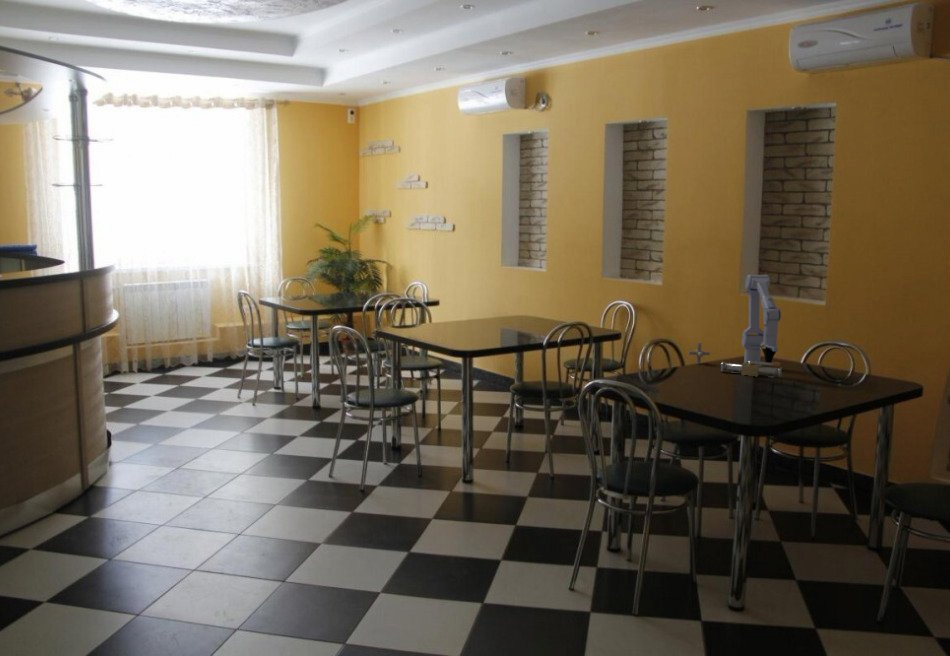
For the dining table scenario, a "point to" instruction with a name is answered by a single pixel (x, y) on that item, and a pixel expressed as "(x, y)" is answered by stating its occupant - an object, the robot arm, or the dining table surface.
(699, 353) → the pipe connector
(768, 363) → the lever
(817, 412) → the dining table surface
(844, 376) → the dining table surface
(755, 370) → the valve pipe
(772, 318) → the robot arm
